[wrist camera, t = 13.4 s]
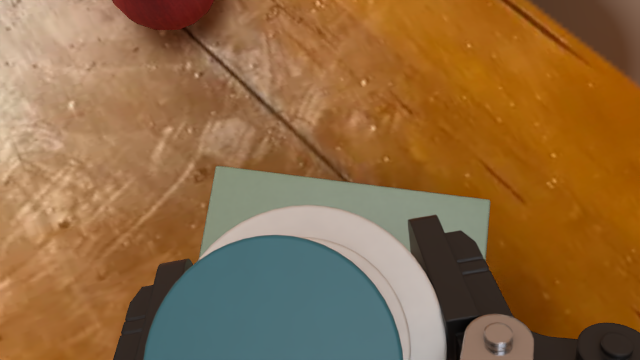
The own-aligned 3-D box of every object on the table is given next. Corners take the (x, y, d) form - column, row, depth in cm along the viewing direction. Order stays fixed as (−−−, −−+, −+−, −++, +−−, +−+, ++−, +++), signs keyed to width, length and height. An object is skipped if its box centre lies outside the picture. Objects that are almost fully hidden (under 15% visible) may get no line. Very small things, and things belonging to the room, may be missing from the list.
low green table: (468, 217, 29) (490, 199, 24) (445, 470, 26) (466, 508, 21) (238, 188, 30) (215, 165, 25) (196, 428, 27) (161, 454, 23)
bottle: (417, 258, 20) (523, 171, 7) (399, 427, 19) (487, 682, 6) (261, 236, 20) (101, 120, 8) (233, 400, 19) (-8, 581, 6)
